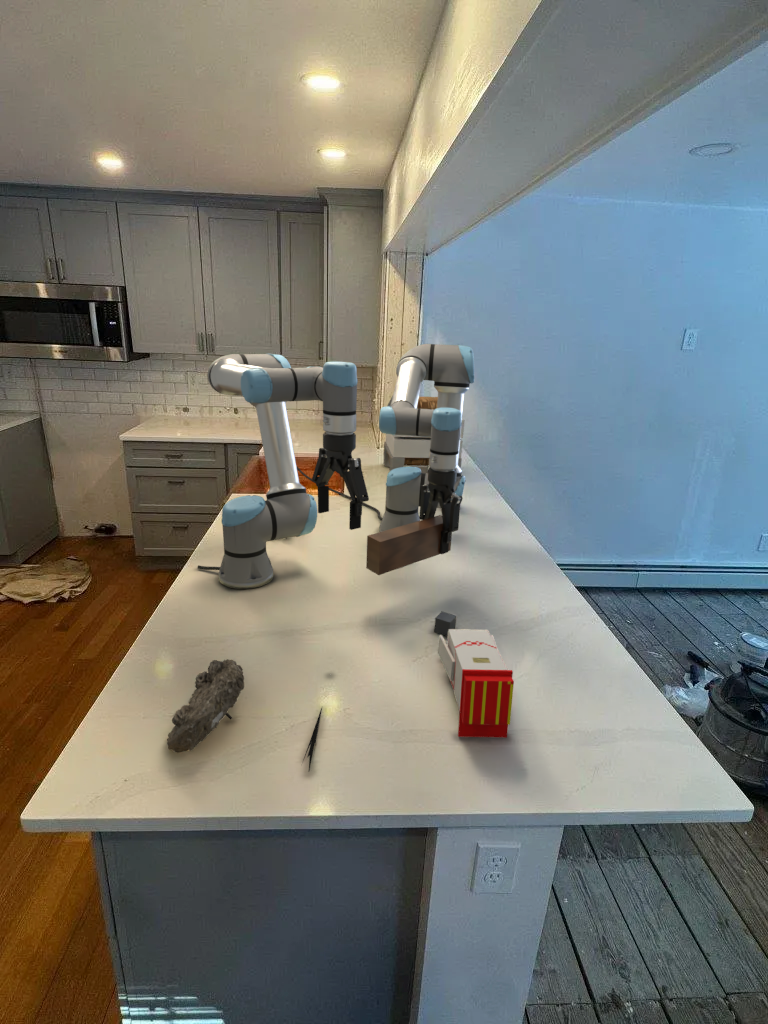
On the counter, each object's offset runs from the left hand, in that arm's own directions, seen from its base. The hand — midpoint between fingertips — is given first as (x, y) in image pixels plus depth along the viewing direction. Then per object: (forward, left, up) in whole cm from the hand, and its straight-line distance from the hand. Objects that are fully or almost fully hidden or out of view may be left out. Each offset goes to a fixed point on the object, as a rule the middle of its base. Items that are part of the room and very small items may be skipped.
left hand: (338, 520), depth 136 cm
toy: (+36, -21, -27) cm, 49 cm away
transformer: (-3, +141, -27) cm, 143 cm away
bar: (+16, +14, -14) cm, 25 cm away
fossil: (-11, -42, -27) cm, 51 cm away
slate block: (+27, +2, -27) cm, 38 cm away
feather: (+9, -37, -27) cm, 47 cm away
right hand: (+21, +22, -14) cm, 34 cm away
